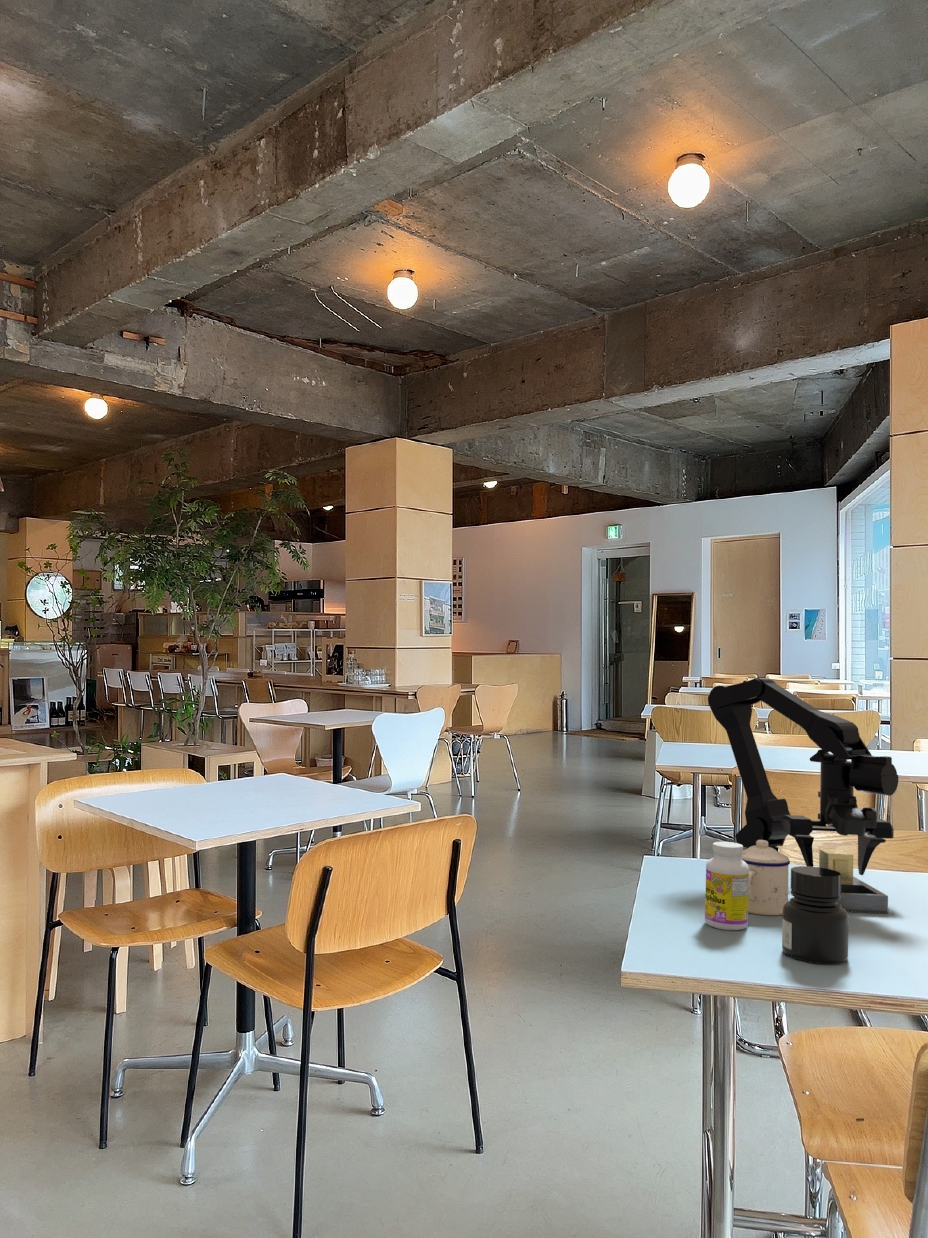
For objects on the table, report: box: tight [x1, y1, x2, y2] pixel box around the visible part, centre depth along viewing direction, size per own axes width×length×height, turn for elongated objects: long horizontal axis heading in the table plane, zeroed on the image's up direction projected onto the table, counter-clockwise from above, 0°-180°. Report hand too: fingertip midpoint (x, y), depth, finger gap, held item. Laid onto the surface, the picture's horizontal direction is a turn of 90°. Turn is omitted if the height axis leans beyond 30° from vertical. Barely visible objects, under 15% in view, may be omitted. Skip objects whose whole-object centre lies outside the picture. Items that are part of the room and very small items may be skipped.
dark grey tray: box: [837, 875, 889, 915], centre depth 163 cm, size 9×15×3 cm, turn 179°
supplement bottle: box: [704, 841, 749, 931], centre depth 145 cm, size 7×7×13 cm
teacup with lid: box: [741, 840, 791, 916], centre depth 155 cm, size 12×9×12 cm
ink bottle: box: [781, 865, 850, 965], centre depth 131 cm, size 10×9×12 cm
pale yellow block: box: [818, 848, 854, 883], centre depth 168 cm, size 4×6×5 cm
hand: (835, 873), depth 167 cm, fingers open, 9 cm apart
